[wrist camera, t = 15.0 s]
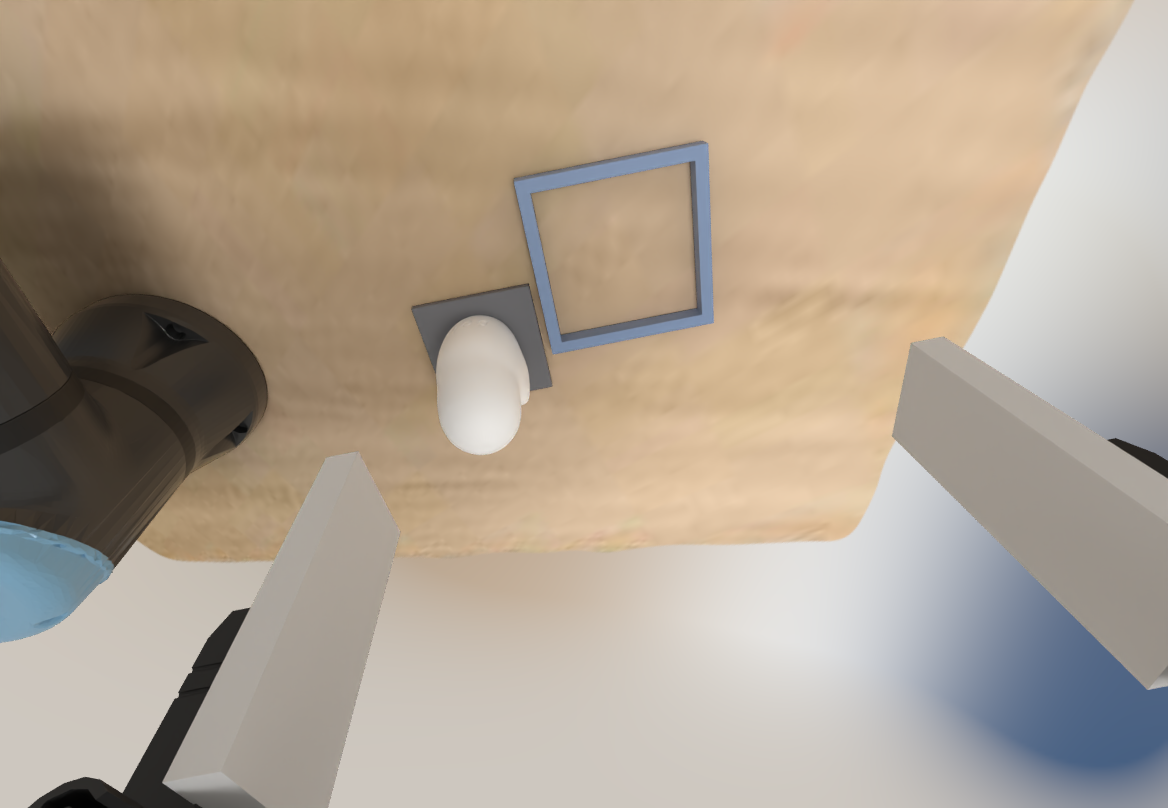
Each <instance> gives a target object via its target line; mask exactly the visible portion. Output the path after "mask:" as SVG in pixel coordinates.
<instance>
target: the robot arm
mask: <svg viewBox="0 0 1168 808" xmlns="http://www.w3.org/2000/svg"><path fill="white" fill-rule="evenodd" d="M266 403H267V388H266V383H265V379H264V376H263V373H262V371H261V368H260V366H259V364H258V363H257V361H256V359H255V358H254V356H253V355H252V353H251V352H250V351H249V349H248V348H247V347H246V346H245V344H244V343H243V342H242V341H241V340H240V339H239V338H238V337H237V336H236V335H235V334H234V333H232V332H231V331H230V330H229V329H228V328H226V327H225V326H224V325H222V324H221V323H220V322H218V321H217V320H215V319H213V318H212V317H210V316H208V315H207V314H205V313H203V312H201V311H199V310H197V309H195V308H193V307H190V306H188V305H185V304H183V303H180V302H177V301H174V300H170V299H166V298H162V297H156V296H150V295H120V296H113V297H109V298H106V299H103V300H100V301H98V302H95V303H93V304H92V305H90V306H88V307H86V308H84V309H82V310H81V311H79V312H77V313H75V314H74V315H72V316H71V317H69V318H68V319H67V320H66V321H64V322H63V323H62V324H61V325H60V326H59V327H58V328H57V330H56V331H55V333H54V334H53V336H51V335H50V333H49V332H48V330H47V329H46V327H45V326H44V324H43V323H42V321H41V320H40V318H39V317H38V315H37V313H36V312H35V310H34V309H33V307H32V306H31V304H30V303H29V301H28V300H27V298H26V297H25V295H24V294H23V292H22V290H21V289H20V287H19V286H18V284H17V283H16V281H15V280H14V278H13V277H12V275H11V274H10V272H9V271H8V269H7V268H6V266H5V264H4V263H3V261H2V260H1V258H0V643H2V642H8V641H14V640H19V639H23V638H26V637H30V636H33V635H36V634H39V633H41V632H43V631H46V630H48V629H50V628H52V627H53V626H55V625H57V624H58V623H60V622H61V621H63V620H64V619H65V618H67V617H68V616H69V615H70V614H71V613H72V612H73V611H74V610H75V609H76V608H77V607H78V606H79V605H80V604H81V602H83V600H84V599H85V598H86V597H87V596H88V595H89V594H90V593H91V592H92V591H93V590H94V589H95V588H96V586H97V585H99V584H101V583H102V582H104V581H105V580H107V579H108V578H109V576H110V574H111V573H112V570H113V569H114V568H115V567H116V566H117V564H118V563H119V562H120V560H121V559H122V558H123V557H124V555H125V554H126V553H127V552H128V550H129V549H130V548H131V547H132V545H133V544H134V543H135V541H136V540H137V539H138V538H139V536H140V535H141V534H142V533H143V531H144V530H145V529H146V528H147V526H148V525H149V524H150V523H151V521H152V520H153V519H154V517H155V516H156V515H157V514H158V512H159V511H160V510H161V509H162V507H163V506H164V505H165V504H166V502H167V501H168V500H169V498H170V497H171V496H172V495H173V493H174V492H175V491H176V490H177V488H178V487H179V485H180V484H181V483H182V482H183V481H184V479H185V478H186V477H187V476H188V475H189V474H190V473H192V472H194V471H195V470H197V469H199V468H201V467H203V466H204V465H206V464H208V463H210V462H212V461H214V460H215V459H217V458H219V457H221V456H223V455H224V454H226V453H228V452H230V451H231V450H233V449H235V448H236V447H237V446H239V445H240V444H241V443H242V442H243V441H244V440H245V439H246V438H247V437H248V436H249V435H250V433H251V432H252V431H253V429H254V428H255V427H256V425H257V424H258V423H259V421H260V420H261V418H262V416H263V414H264V411H265V408H266ZM892 437H893V438H894V439H895V440H896V441H897V442H898V443H899V444H900V445H901V446H903V447H904V449H905V450H906V451H908V453H910V454H911V456H912V457H913V458H915V460H916V461H918V462H919V463H920V464H921V465H922V466H923V467H924V468H925V469H926V470H927V471H928V472H929V473H930V474H931V475H932V476H933V477H934V478H935V479H936V480H937V481H938V482H939V483H940V484H941V485H942V486H943V487H944V488H945V489H946V490H947V491H948V492H949V493H950V494H951V495H952V496H953V497H954V498H955V499H956V500H957V501H958V502H959V503H960V504H961V505H962V506H963V507H964V508H965V509H966V510H967V511H968V512H969V513H970V514H971V515H972V516H973V517H974V518H975V519H976V520H977V521H978V522H979V523H980V524H981V525H982V526H983V527H984V528H985V529H986V530H987V531H988V532H989V533H990V534H991V535H992V536H993V537H994V538H995V539H996V540H997V541H998V542H999V543H1000V544H1001V545H1002V546H1003V547H1004V548H1005V549H1006V550H1007V551H1008V552H1009V553H1010V554H1011V555H1012V556H1013V557H1014V558H1015V559H1017V561H1018V562H1019V563H1020V564H1021V565H1023V566H1024V568H1025V569H1026V570H1027V571H1028V572H1029V573H1030V574H1031V575H1032V576H1033V577H1034V578H1035V579H1037V580H1038V581H1039V582H1040V583H1041V584H1042V585H1043V586H1044V587H1045V588H1046V589H1047V590H1048V591H1049V592H1050V593H1051V594H1052V595H1053V596H1054V597H1055V598H1056V599H1057V600H1058V601H1059V602H1060V603H1061V604H1062V605H1063V606H1064V607H1065V608H1066V609H1067V610H1068V611H1069V612H1070V613H1071V614H1072V615H1073V616H1074V617H1075V618H1076V619H1077V620H1078V621H1079V622H1080V623H1081V624H1082V625H1083V626H1084V627H1085V628H1086V629H1087V630H1088V631H1089V632H1090V633H1091V634H1092V635H1093V636H1094V637H1095V638H1096V639H1097V640H1098V641H1099V642H1100V643H1101V644H1102V645H1103V646H1104V647H1105V648H1106V649H1107V650H1108V651H1109V652H1110V653H1111V654H1112V655H1113V656H1114V657H1115V658H1116V659H1117V660H1118V661H1119V662H1120V663H1121V664H1122V665H1123V666H1124V667H1125V668H1127V670H1128V671H1129V672H1130V673H1131V674H1132V675H1133V676H1134V677H1136V678H1137V680H1138V681H1139V682H1140V683H1142V685H1143V686H1144V687H1145V688H1146V689H1148V690H1149V689H1154V688H1159V687H1165V686H1168V461H1167V460H1165V459H1164V458H1162V457H1161V456H1159V455H1157V454H1156V453H1153V452H1150V451H1148V450H1145V449H1143V448H1140V447H1137V446H1134V445H1132V444H1130V443H1127V442H1124V441H1122V440H1119V439H1116V438H1115V439H1109V440H1106V439H1104V438H1103V437H1101V436H1100V435H1098V434H1096V433H1095V432H1093V431H1092V430H1090V429H1088V428H1087V427H1085V426H1084V425H1082V424H1081V423H1079V422H1078V421H1076V420H1074V419H1073V418H1071V417H1070V416H1068V415H1066V414H1065V413H1063V412H1062V411H1060V410H1059V409H1057V408H1055V407H1054V406H1052V405H1051V404H1049V403H1048V402H1046V401H1044V400H1043V399H1041V398H1040V397H1038V396H1037V395H1035V394H1033V393H1032V392H1030V391H1029V390H1027V389H1025V388H1024V387H1022V386H1021V385H1019V384H1017V383H1016V382H1014V381H1013V380H1011V379H1010V378H1008V377H1006V376H1005V375H1003V374H1002V373H1000V372H999V371H997V370H995V369H994V368H992V367H991V366H989V365H987V364H986V363H984V362H983V361H981V360H980V359H978V358H976V357H975V356H973V355H972V354H970V353H969V352H967V351H966V350H964V349H962V348H961V347H959V346H958V345H956V344H954V343H953V342H951V341H950V340H948V339H947V338H945V337H939V338H934V339H928V340H923V341H918V342H913V343H911V345H910V350H909V355H908V360H907V365H906V370H905V375H904V380H903V385H902V390H901V395H900V399H899V404H898V409H897V414H896V419H895V424H894V429H893V434H892ZM399 536H400V530H399V528H398V526H397V524H396V522H395V520H394V519H393V517H392V515H391V513H390V511H389V509H388V507H387V505H386V503H385V501H384V499H383V497H382V496H381V494H380V492H379V490H378V488H377V486H376V484H375V482H374V480H373V478H372V476H371V474H370V473H369V471H368V469H367V467H366V465H365V463H364V461H363V459H362V457H361V455H360V453H359V451H356V452H351V453H346V454H341V455H336V456H331V457H326V459H325V461H324V463H323V465H322V467H321V469H320V471H319V473H318V475H317V477H316V479H315V481H314V483H313V485H312V487H311V489H310V491H309V493H308V495H307V497H306V499H305V501H304V503H303V505H302V507H301V509H300V511H299V513H298V515H297V517H296V518H295V520H294V522H293V524H292V526H291V528H290V530H289V532H288V534H287V536H286V538H285V540H284V542H283V544H282V546H281V548H280V550H279V552H278V554H277V556H276V558H275V560H274V562H273V564H272V566H271V568H270V570H269V572H268V574H267V576H266V578H265V580H264V582H263V584H262V586H261V588H260V590H259V592H258V594H257V596H256V598H255V600H254V602H253V604H252V606H251V608H246V609H242V610H236V611H233V612H231V614H230V615H229V616H228V617H227V618H226V619H225V620H224V621H223V623H222V624H221V625H220V626H219V627H218V628H217V629H216V630H215V631H214V632H213V633H212V635H211V636H210V637H209V638H208V639H207V642H206V643H205V645H204V647H203V648H202V650H201V652H200V654H199V656H198V658H197V659H196V661H195V663H194V665H193V667H192V669H193V671H192V673H190V674H188V676H187V678H186V679H185V681H184V683H183V685H182V686H181V688H180V690H179V692H178V693H179V697H178V698H176V699H174V701H173V703H172V705H171V707H170V708H169V710H168V712H167V714H166V716H165V717H164V719H163V721H162V723H161V725H160V727H159V728H158V730H157V732H156V734H155V735H154V737H153V739H152V741H151V743H150V744H149V746H148V748H147V750H146V752H145V754H144V755H143V757H142V759H141V761H140V763H139V765H138V766H137V768H136V770H135V772H134V773H133V775H132V777H131V779H130V781H129V783H128V784H127V786H126V788H125V790H124V792H123V793H120V792H119V791H118V790H116V789H114V788H113V787H111V786H109V785H108V784H106V783H105V782H103V781H102V780H100V779H94V778H89V777H83V778H80V779H77V780H73V781H70V782H67V783H64V784H62V785H61V786H59V787H57V788H55V789H54V790H52V791H50V792H49V793H47V794H45V795H44V796H42V797H40V798H39V799H38V800H37V801H35V802H34V803H33V804H32V805H31V806H30V807H28V808H328V805H329V801H330V798H331V794H332V790H333V786H334V782H335V779H336V775H337V771H338V767H339V764H340V760H341V756H342V752H343V748H344V745H345V741H346V737H347V733H348V729H349V726H350V722H351V718H352V714H353V710H354V706H355V703H356V699H357V695H358V691H359V687H360V684H361V680H362V676H363V672H364V669H365V665H366V661H367V657H368V653H369V649H370V646H371V642H372V638H373V634H374V631H375V627H376V623H377V619H378V615H379V611H380V607H381V604H382V600H383V596H384V593H385V589H386V585H387V581H388V577H389V574H390V569H391V566H392V562H393V558H394V555H395V551H396V547H397V543H398V539H399Z"/></svg>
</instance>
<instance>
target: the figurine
mask: <svg viewBox="0 0 1168 808" xmlns="http://www.w3.org/2000/svg"><path fill="white" fill-rule="evenodd" d="M436 382H437V407H438V415H439V420H440V424H441V427H442V429H443V431H444V433H445V435H446V436H447V438H448V439H449V440H450V442H451V443H452V444H453V445H455V446H456V447H457V448H459V449H460V450H462V451H465V452H467V453H470V454H475V455H487V454H492V453H495V452H497V451H499V450H501V449H502V448H504V447H505V446H506V445H507V444H508V443H509V442H510V441H511V440H512V439H513V438H514V436H515V435H516V433H517V431H518V428H519V425H520V421H521V405H523V404H526V403H527V402H528V400H529V396H530V382H529V373H528V369H527V365H526V362H525V359H524V356H523V354H522V352H521V349H520V347H519V345H518V342H517V340H516V338H515V336H514V335H513V333H512V332H511V330H510V329H509V328H508V327H507V326H506V325H505V324H504V323H502V322H501V321H499V320H498V319H496V318H493V317H490V316H485V315H475V316H470V317H467V318H465V319H463V320H461V321H460V322H458V323H457V324H456V325H455V326H453V327H452V329H451V330H450V331H449V332H448V334H447V335H446V337H445V339H444V341H443V343H442V345H441V348H440V351H439V354H438V359H437V366H436Z"/></svg>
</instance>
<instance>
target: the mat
mask: <svg viewBox="0 0 1168 808" xmlns="http://www.w3.org/2000/svg"><path fill="white" fill-rule="evenodd" d="M411 310H412V312H413V315H414V318H415V320H416V323H417V326H418V328H419V331H420V334H421V336H422V339H423V342H424V344H425V347H426V350H427V352H428V355H429V357H430V360H431V363H432V365H433V368H434V371H435V373H436V366H437V359H438V354H439V351H440V348H441V345H442V343H443V341H444V339H445V337H446V335H447V334H448V332H449V331H450V330H451V329H452V327H453V326H455V325H456V324H457V323H458V322H460V321H461V320H463V319H465V318H467V317H470V316H475V315H485V316H490V317H493V318H496V319H498V320H499V321H501V322H502V323H504V324H505V325H506V326H507V327H508V328H509V329H510V330H511V332H512V333H513V335H514V336H515V338H516V340H517V342H518V345H519V347H520V349H521V352H522V354H523V356H524V359H525V362H526V365H527V369H528V373H529V382H530V391H532V390H537V389H542V388H547V387H552V381H551V377H550V372H549V368H548V364H547V360H546V355H545V351H544V347H543V343H542V338H541V334H540V330H539V326H538V321H537V317H536V313H535V309H534V304H533V300H532V296H531V292H530V287H529V284H524V285H519V286H513V287H508V288H503V289H498V290H493V291H488V292H483V293H478V294H473V295H468V296H463V297H458V298H453V299H448V300H443V301H438V302H432V303H427V304H422V305H417V306H413V307H412V309H411Z"/></svg>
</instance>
